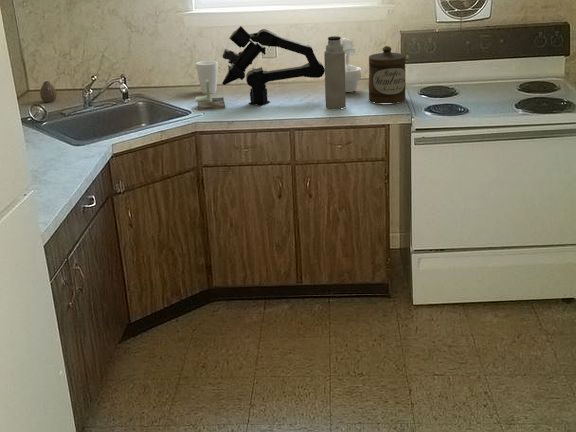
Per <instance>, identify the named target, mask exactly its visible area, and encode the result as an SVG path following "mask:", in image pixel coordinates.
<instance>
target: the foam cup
mask: <svg viewBox="0 0 576 432" xmlns="http://www.w3.org/2000/svg"><path fill="white" fill-rule="evenodd" d="M218 64H219V63H218V61H216V60H202V61H197V62H196V63H195V69H196V72H197V76H198V82H199V86H200V90H201V93H202V94H206V95H207V88H206V80H208V82H209V94H210V95H211V94H214V93H216V92H217V83H218V82H217V80H218V67H219V65H218Z"/></svg>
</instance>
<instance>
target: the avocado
mask: <svg viewBox="0 0 576 432" xmlns="http://www.w3.org/2000/svg"><path fill="white" fill-rule="evenodd" d="M57 94H58V93H57V90H56V88H55V87H54V85H53V84H51V83H50V81H49V80H47V81H43V83H42V85H41V87H40V89H39V95H40V99H41V100H42V101H43V102H44V103H45V104H46V103H48V104H49V103H54V102H55V101H56V100H57V97H58V96H57Z"/></svg>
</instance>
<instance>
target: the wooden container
mask: <svg viewBox="0 0 576 432" xmlns="http://www.w3.org/2000/svg"><path fill="white" fill-rule="evenodd" d="M382 51H383V52H380V53H379V52H378V53H374V54H371V55H369V56H368V101H369V100H370V101H371V102H375V103H397V102H401V103H403V102H402V101H404V100H405V101H406V86H407V85H406V83H407V82H406V79H407V78H406V54H404V53H399V52H391V51H392V47H391V46H388V45H386V46H384V47H383V48H382ZM370 101H369V102H370ZM405 101H404V102H405ZM371 102H370V103H371ZM375 103H374V104H375Z"/></svg>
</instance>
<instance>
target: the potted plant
mask: <svg viewBox="0 0 576 432" xmlns="http://www.w3.org/2000/svg"><path fill="white" fill-rule="evenodd" d="M337 36H338V37H340V36H339V35H337ZM341 45H343V50H344V51H345V92H352V93H354V92H353V91H355V90H357V87H358V85H359V81H360V79H362V68H361V67H359V66H355V65H353V64H350V56H352V55H354V54H355V52H356V48H354V42H353V41H352V40H351V39H349V38H347V37H342V42H341ZM355 92H356V91H355Z"/></svg>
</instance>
